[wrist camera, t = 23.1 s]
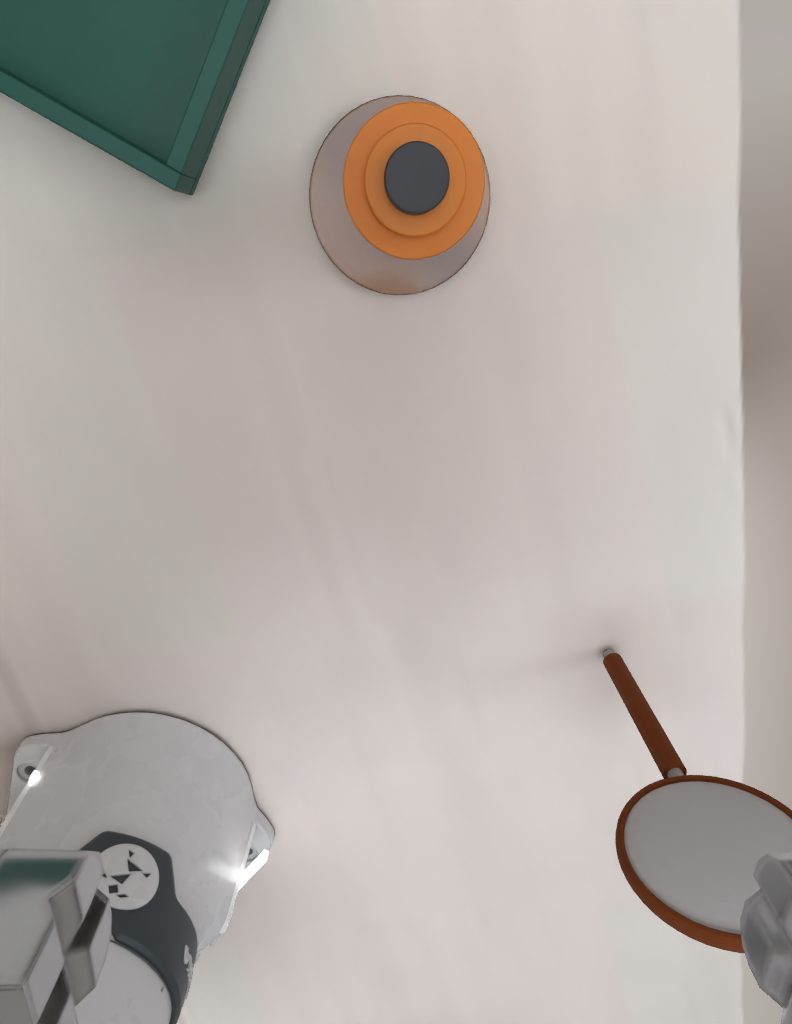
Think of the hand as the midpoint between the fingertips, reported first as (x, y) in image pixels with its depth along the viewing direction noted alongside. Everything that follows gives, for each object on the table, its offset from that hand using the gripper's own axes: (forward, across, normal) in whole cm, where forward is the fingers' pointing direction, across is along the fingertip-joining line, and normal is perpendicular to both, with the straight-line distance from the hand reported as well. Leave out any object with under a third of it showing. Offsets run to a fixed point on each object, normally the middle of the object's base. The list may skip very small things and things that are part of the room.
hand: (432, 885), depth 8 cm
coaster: (+31, 0, -10) cm, 33 cm away
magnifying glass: (+31, -15, +17) cm, 39 cm away
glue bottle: (+30, 0, -10) cm, 32 cm away
